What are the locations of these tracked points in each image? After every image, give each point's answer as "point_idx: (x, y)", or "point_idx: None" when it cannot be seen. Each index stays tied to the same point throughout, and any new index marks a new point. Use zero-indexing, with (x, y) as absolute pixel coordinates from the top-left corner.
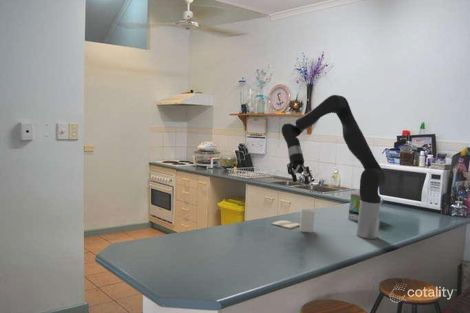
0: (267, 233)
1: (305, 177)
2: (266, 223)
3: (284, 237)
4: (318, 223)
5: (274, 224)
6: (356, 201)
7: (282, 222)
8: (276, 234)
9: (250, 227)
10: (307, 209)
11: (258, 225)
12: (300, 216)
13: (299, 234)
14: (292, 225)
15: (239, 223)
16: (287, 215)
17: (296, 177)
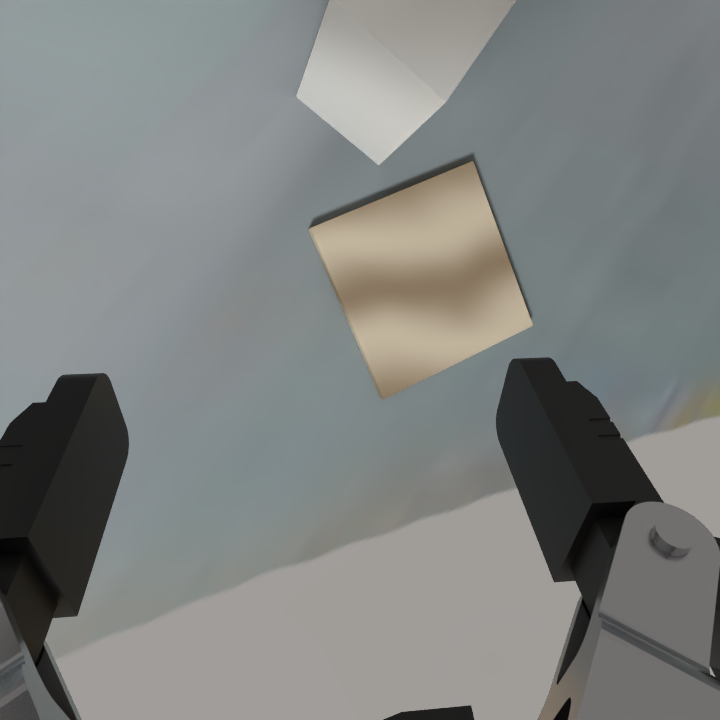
0: (682, 131)
1: (42, 602)
2: None
3: (636, 7)
4: (72, 239)
5: (521, 302)
6: None
7: (438, 322)
8: (644, 88)
9: (703, 292)
10: (406, 29)
11: (630, 323)
12: (412, 133)
13: None
14: (414, 217)
15: (715, 399)
16: (205, 569)
17: (554, 419)
